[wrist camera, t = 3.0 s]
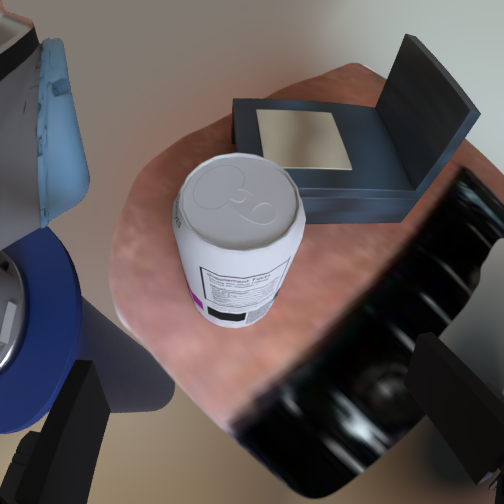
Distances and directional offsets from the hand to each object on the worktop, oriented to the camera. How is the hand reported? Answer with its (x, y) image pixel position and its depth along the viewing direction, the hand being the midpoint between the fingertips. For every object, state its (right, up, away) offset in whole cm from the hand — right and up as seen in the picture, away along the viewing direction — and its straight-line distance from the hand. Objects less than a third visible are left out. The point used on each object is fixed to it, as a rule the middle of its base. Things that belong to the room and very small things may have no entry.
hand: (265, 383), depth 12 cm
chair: (+7, +14, +27) cm, 32 cm away
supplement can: (-2, +1, +20) cm, 20 cm away
